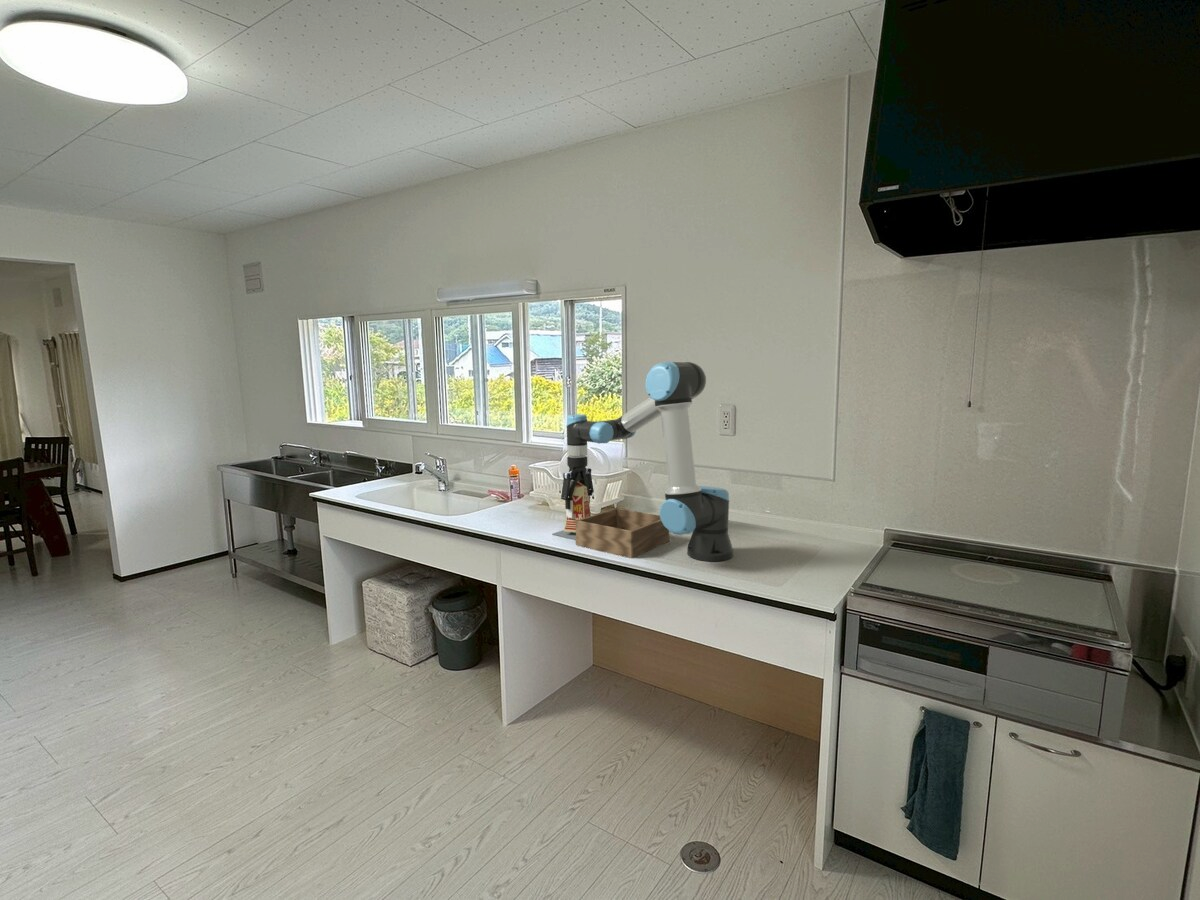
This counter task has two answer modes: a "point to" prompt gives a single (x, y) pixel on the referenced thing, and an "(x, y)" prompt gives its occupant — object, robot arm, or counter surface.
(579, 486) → the milk carton
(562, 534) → the slate mat
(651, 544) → the walnut surround
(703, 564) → the counter surface
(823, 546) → the counter surface
